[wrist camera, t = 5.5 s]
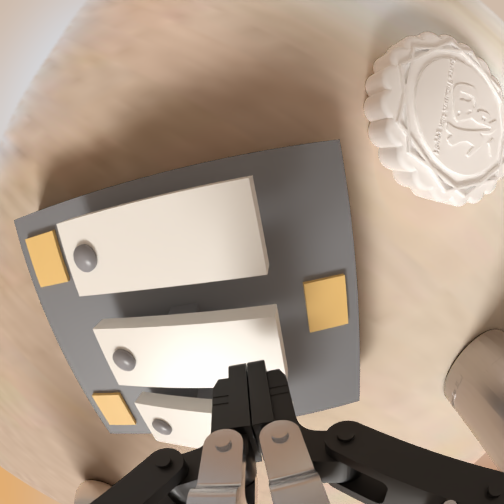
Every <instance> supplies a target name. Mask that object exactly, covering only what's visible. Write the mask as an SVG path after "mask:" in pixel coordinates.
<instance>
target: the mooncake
mask: <svg viewBox="0 0 504 504" xmlns="http://www.w3.org/2000/svg"><path fill="white" fill-rule="evenodd" d="M373 71H374V74H372V75H371V76H369V77H368V79H367V80H366V84H365V88H366V92H367V94H368V96H369V97H368V98H367V99H366V100H365V102H364V106H363V109H364V114H365V116H366V118H367V119H368V120H369V121H370V122H371V123H370V124H369V127H368V136H369V138H370V140H371V142H372V143H373V144H374V145H375V146H377V147H379V149H378V157H379V160H380V162H381V163H382V165H383V166H384V167H386V168H388V169H391V170H392V172H393V177H394V179H395V180H396V182H397V183H398V184H400V185H402V186H405V187H410V189H411V191H412V192H413V193H414V194H415V195H416V196H418V197H422V198H426V199H429V200H433V201H437V202H442V203H446V204H449V205H453V206H457V207H458V206H462V205H464V204H465V203H466V202H468V203H477V202H479V201H480V200H481V199H482V197H483V195H484V194H490V193H492V192H493V191H494V189H495V187H496V183H497V181H498V180H499V179H501V178H502V177H503V176H504V98H503V95H502V89H501V86H500V84H499V82H498V80H497V79H496V78H495V77H494V76H492V75H491V73H490V69H489V67H488V65H487V64H486V62H485V61H484V60H483V59H481V58H479V57H476V55H475V53H474V51H473V50H472V49H471V48H470V47H469V46H468V45H466V44H464V43H458V42H457V41H456V40H455V39H454V38H453V37H451V36H450V35H447V34H442V35H439V36H437V35H436V34H434V33H432V32H428V31H426V32H423V33H421V34H419V35H417V36H408V37H406V38H404V39H403V40H401V41H399V42H398V43H396V44H395V45H393V46H391V47H390V48H389V49H388V50H387V52H386V54H384V55H383V56H381V57H380V58H378V59H377V60H376V61H375V62H374V65H373Z"/></svg>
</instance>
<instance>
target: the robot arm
mask: <svg viewBox="0 0 504 504" xmlns="http://www.w3.org/2000/svg"><path fill="white" fill-rule="evenodd" d="M444 393H445V396H446V398H447V399H448V401H449V402H450V403H451V404H452V406H453V408H455V410H456V411H457V412H458V414H459V415H460V416H461V418H462V419H463V421H464V422H465V423H466V425H467V426H468V427H469V429H470V430H471V432H472V433H473V434H474V436H475V437H476V438H477V440H478V441H479V443H480V444H481V445H482V447H483V448H484V450H485V451H486V452H487V454H488V455H489V457H490V458H491V460H492V461H493V462H494V464H495V465H496V467H497V468H498V470H499V471H497V470H493V469H489V468H485V467H481V466H478V465H474V464H471V463H467V462H464V461H461V460H457V459H454V458H451V457H448V456H445V455H442V454H439V453H436V452H433V451H430V450H427V449H424V448H421V447H418V446H415V445H413V444H410V443H407V442H405V441H402V440H399V439H397V438H394V437H392V436H389V435H387V434H384V433H382V432H379V431H377V430H374V429H372V428H369V427H367V426H365V425H362V424H360V423H358V422H354V421H342V422H338V423H336V424H334V425H332V426H331V427H330V428H329V429H328V430H327V431H314V430H309V429H306V428H304V427H303V426H301V425H300V424H299V423H298V421H297V419H296V415H295V411H294V407H293V402H292V398H291V394H290V390H289V386H288V382H287V378H286V375H285V374H284V373H283V372H282V371H281V370H280V369H275V370H270V371H267V370H266V365H265V361H264V360H259V361H254V362H248V363H247V365H246V363H243V364H237V365H231V366H229V367H228V378H225V379H218V381H217V383H216V384H215V386H214V387H213V399H212V417H211V434H210V435H209V436H208V437H207V438H206V439H205V441H204V444H203V446H201V447H200V448H198V449H196V450H193V451H190V452H187V453H184V454H181V453H180V452H179V451H177V450H175V449H171V448H164V449H160V450H157V451H155V452H154V453H152V454H151V455H150V456H149V457H147V458H146V459H145V460H144V461H143V462H142V463H140V464H139V465H138V466H137V467H136V468H134V469H133V470H132V471H131V472H129V473H128V474H127V475H126V476H124V477H123V478H122V479H121V480H120V481H118V482H117V483H116V484H114V485H113V486H112V487H111V488H109V489H108V490H107V491H106V492H104V493H103V494H102V495H100V496H99V497H98V498H96V499H95V500H94V501H92V502H91V503H90V504H257V491H258V479H257V475H256V474H257V470H256V462H261V461H262V456H263V460H264V461H265V466H266V470H267V475H268V479H269V487H270V492H271V496H272V501H273V504H330V502H329V499H328V497H327V494H326V492H325V489H324V486H323V484H322V483H329V484H330V485H331V486H332V487H334V488H336V489H338V490H340V491H341V492H343V493H345V494H347V495H349V496H351V497H353V498H355V499H357V500H359V501H361V502H363V503H365V504H504V332H503V331H501V330H498V329H493V330H489V331H487V332H485V333H483V334H481V335H480V336H478V337H477V338H476V339H475V340H473V341H472V342H471V343H470V344H469V345H468V346H467V347H466V348H465V349H464V350H463V351H462V353H461V354H460V355H459V356H458V358H457V359H456V361H455V362H454V364H453V365H452V367H451V369H450V371H449V373H448V375H447V378H446V381H445V385H444ZM261 453H262V455H261Z"/></svg>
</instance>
